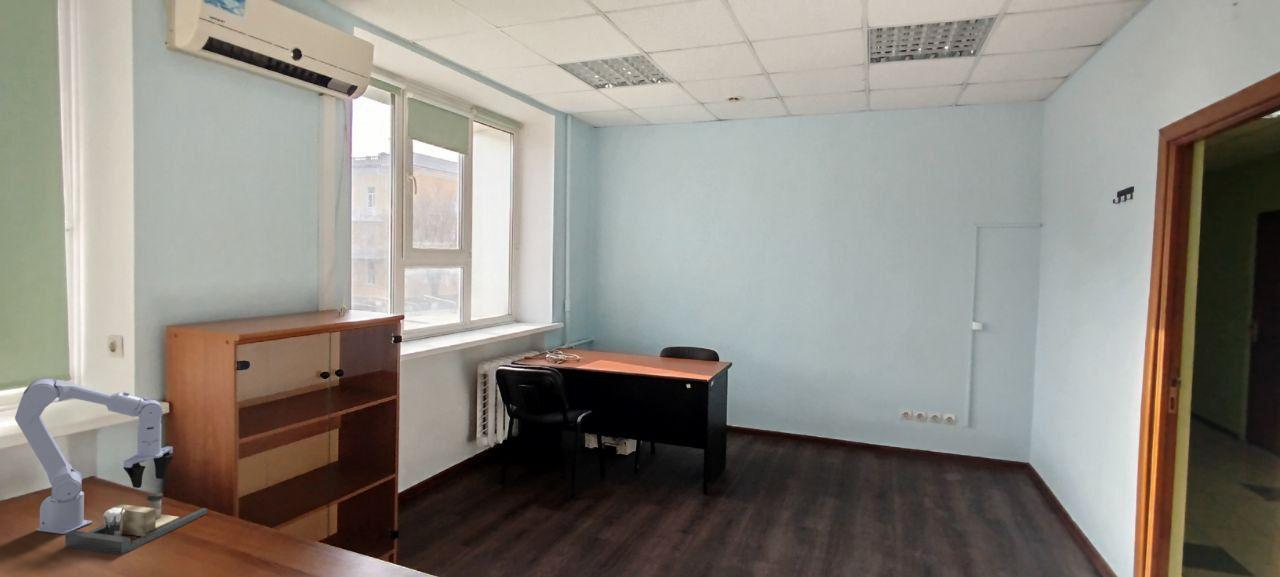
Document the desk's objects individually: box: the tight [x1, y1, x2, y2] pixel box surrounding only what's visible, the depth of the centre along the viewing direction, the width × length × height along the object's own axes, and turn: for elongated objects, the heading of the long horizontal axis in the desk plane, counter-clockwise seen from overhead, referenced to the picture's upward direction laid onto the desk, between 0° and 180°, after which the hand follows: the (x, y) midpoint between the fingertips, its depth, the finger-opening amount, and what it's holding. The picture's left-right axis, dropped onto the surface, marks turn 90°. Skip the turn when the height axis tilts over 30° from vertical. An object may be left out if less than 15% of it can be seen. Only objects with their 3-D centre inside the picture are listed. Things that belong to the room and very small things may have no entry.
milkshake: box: [103, 507, 125, 537], centre depth 171 cm, size 4×5×10 cm
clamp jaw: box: [108, 492, 181, 537], centre depth 180 cm, size 12×11×8 cm
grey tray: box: [64, 502, 208, 556], centre depth 179 cm, size 18×28×4 cm, turn 172°
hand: (148, 482), depth 189 cm, fingers open, 7 cm apart
